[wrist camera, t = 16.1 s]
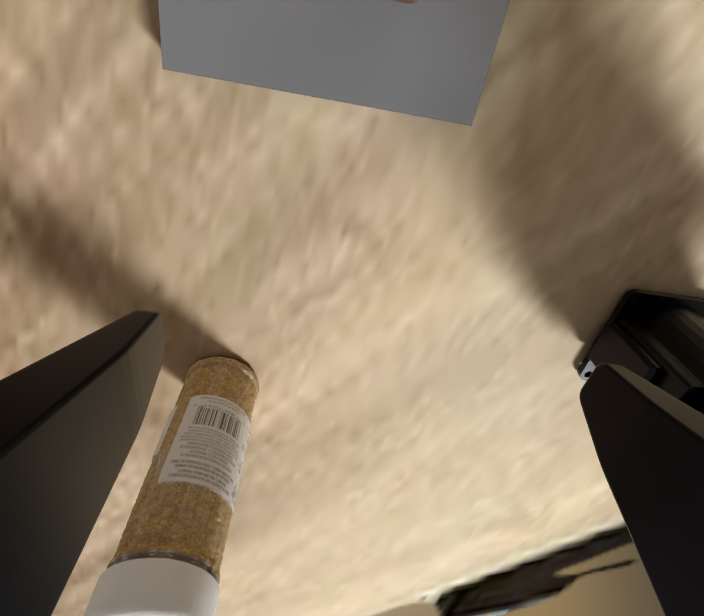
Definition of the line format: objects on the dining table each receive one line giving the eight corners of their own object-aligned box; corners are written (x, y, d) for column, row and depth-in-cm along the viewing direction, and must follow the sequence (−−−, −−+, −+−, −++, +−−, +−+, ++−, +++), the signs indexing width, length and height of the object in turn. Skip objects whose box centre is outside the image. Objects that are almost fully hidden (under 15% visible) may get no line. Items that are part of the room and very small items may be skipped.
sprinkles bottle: (171, 379, 26) (48, 644, 15) (219, 340, 24) (124, 603, 13) (228, 417, 28) (159, 675, 17) (277, 383, 27) (235, 642, 15)
